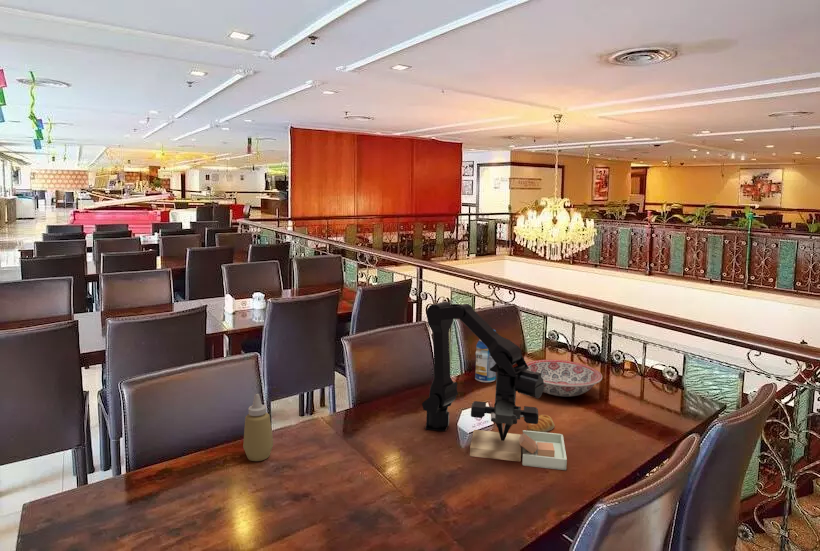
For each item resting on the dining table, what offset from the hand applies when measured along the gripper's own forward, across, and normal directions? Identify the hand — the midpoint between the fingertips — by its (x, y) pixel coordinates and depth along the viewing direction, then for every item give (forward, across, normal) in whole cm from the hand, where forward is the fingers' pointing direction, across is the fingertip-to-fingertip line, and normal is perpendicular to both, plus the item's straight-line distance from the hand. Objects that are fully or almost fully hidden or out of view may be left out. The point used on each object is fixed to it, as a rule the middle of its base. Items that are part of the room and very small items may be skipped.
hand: (502, 440), depth 158 cm
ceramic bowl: (+3, +20, +52) cm, 55 cm away
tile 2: (0, +12, 0) cm, 12 cm away
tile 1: (+1, +7, 0) cm, 7 cm away
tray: (+3, +12, 0) cm, 12 cm away
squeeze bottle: (+4, -66, -20) cm, 69 cm away
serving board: (+3, -2, 0) cm, 3 cm away
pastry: (+3, +12, +17) cm, 21 cm away
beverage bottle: (+4, -8, +59) cm, 59 cm away
